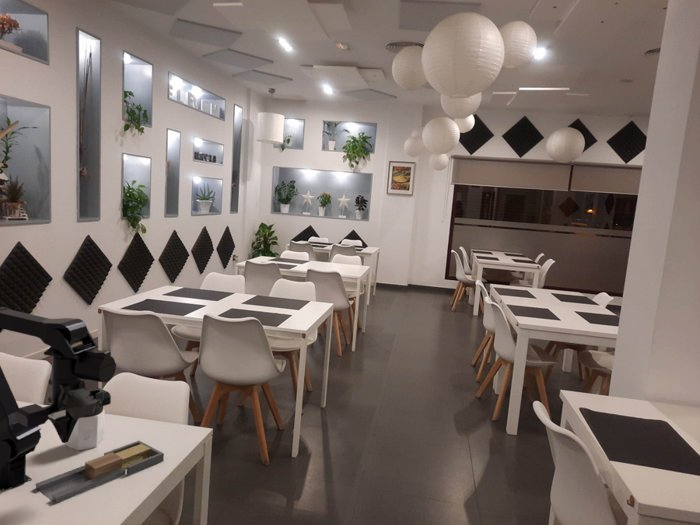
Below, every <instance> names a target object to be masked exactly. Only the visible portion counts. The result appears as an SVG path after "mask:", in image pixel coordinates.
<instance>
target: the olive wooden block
mask: <svg viewBox="0 0 700 525" xmlns="http://www.w3.org/2000/svg"><path fill="white" fill-rule="evenodd" d="M115 454H116V455H118V456H120V457H121V458H122V468H123V469H125V470H127V466H129V465H132V464H134V463H136V460H137V454H136V453H134V452H132V451H130V450H129V449H126V450H123V451H121V452H118V453H115Z"/></svg>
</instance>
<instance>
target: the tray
mask: <svg viewBox="0 0 700 525" xmlns="http://www.w3.org/2000/svg"><path fill="white" fill-rule="evenodd" d="M140 444H143V445H145V446H146V447H148V448H150V457H149V458H147V459H144V460H142V461H139V462H137V463H134V464H132V465H129V466H127V469H126V475H127V476H131V475H133V474H136V473H138V472H140V471H143V470H145V469H148V468H150V467H152V466H154V465H155V466H156V465H157V464H159V463H162V462H164V460H165V459H164V455H165V453H164V452H162V451H160V450H158V449H156V448H154V447H152V446H150V445H148V444H147V443H145V442H143V441H141V440H137V441H135V442H131V443H129V444H125V445H123V446H119V447H118V448H114V449H112V450H110V451H107V452H103V456H104V455H106V454H109V453H112V452H113V453H114V454H115V453H118V452H121V451H123V450H126V449H129V448H132V447H134V446H137V445H140Z"/></svg>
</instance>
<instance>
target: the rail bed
mask: <svg viewBox="0 0 700 525" xmlns="http://www.w3.org/2000/svg"><path fill="white" fill-rule="evenodd" d="M126 472H127V469H123V468H119V469H116V470H114V471H111V472H109V473H106V474H104V475H101V476H99V477H96V478H94V479H90V478H89V477H87V476H86V475H85V464H84V465H82V466H79V467H77V468H76V467H75V468H74V469H71V470H69V471H66V472H63V473H61V474H58V475H55V476H52V477H48V478H47V479H45V480H41V481H39V482H36V483H35V489H36V490H37V491H38V492H40V493H41V494H43V496H45V497H46V498H48V499H49V500H51V502H53V503H54V504H58V503H61V502H63V501H66V500H68V499H70V498H72V497H75V496H77V495H80V494H82V493H85V492H87V491H89V490H93V489H95V488H98V487H99V486H101V485H104V484H106V483H109V482H111V481H113V480H116V479H119V478H121V477H123V476H125V475H126Z"/></svg>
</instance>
